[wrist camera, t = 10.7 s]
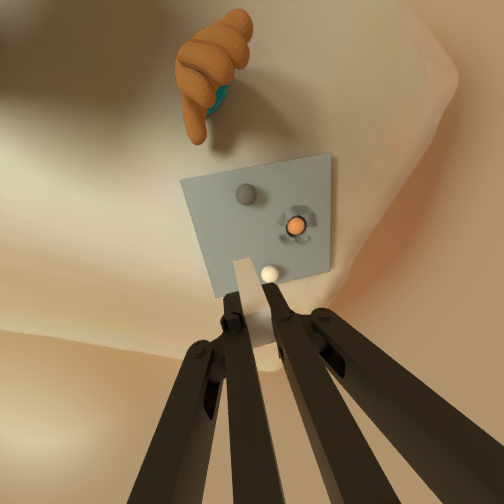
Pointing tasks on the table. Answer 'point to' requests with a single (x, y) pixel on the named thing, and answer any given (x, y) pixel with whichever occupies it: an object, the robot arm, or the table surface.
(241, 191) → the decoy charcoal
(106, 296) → the table surface
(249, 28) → the toy
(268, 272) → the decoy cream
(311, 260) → the grey flat plate
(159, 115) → the table surface
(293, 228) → the ball
